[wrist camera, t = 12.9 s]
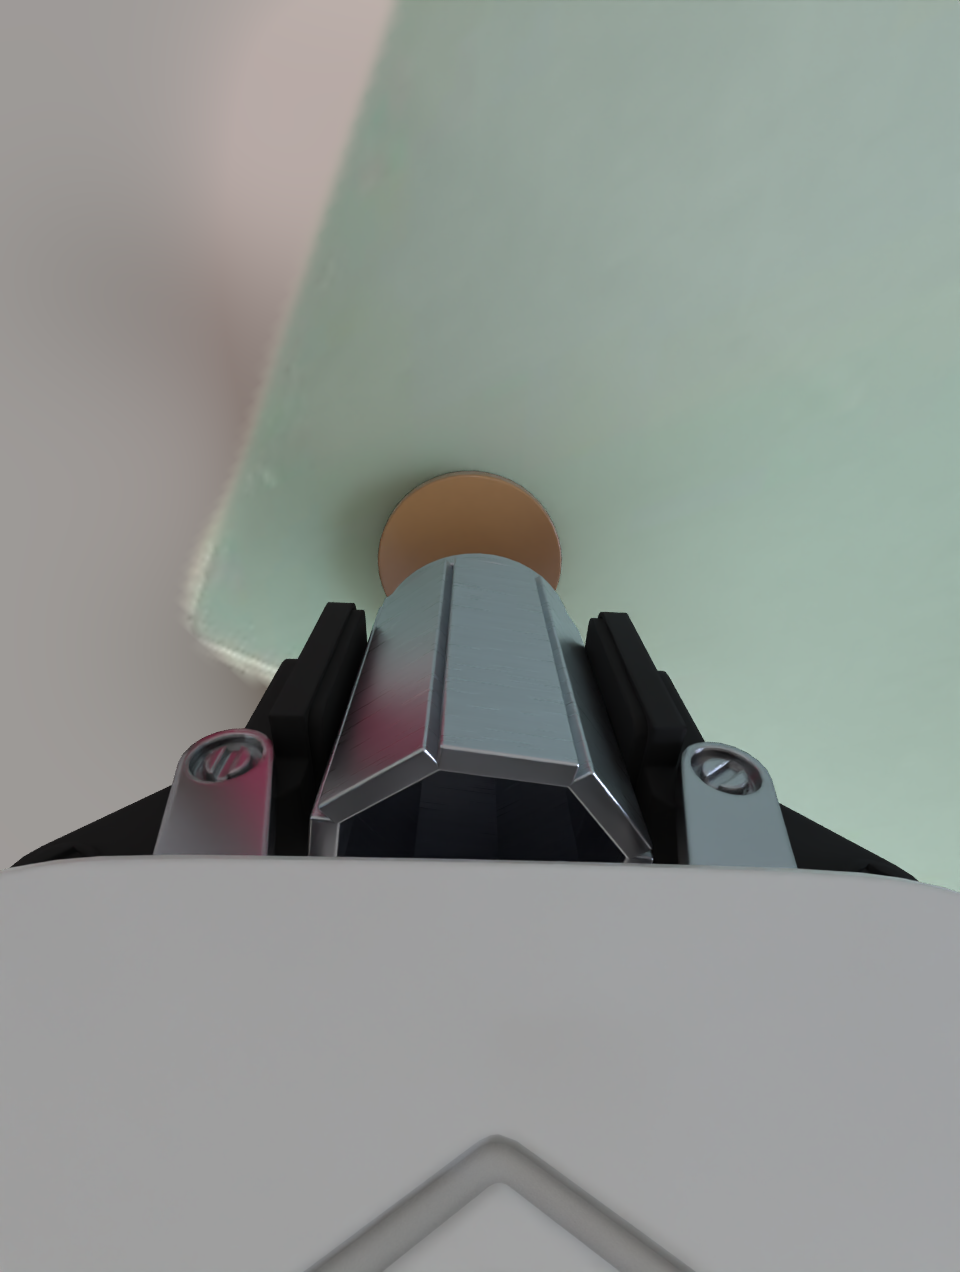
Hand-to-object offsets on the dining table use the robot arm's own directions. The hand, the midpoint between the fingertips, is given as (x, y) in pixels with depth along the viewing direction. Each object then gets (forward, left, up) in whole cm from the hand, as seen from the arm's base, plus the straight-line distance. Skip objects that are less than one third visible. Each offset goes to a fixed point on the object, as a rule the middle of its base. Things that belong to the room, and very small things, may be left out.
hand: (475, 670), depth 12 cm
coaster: (0, 0, -6) cm, 6 cm away
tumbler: (0, 0, -1) cm, 1 cm away
